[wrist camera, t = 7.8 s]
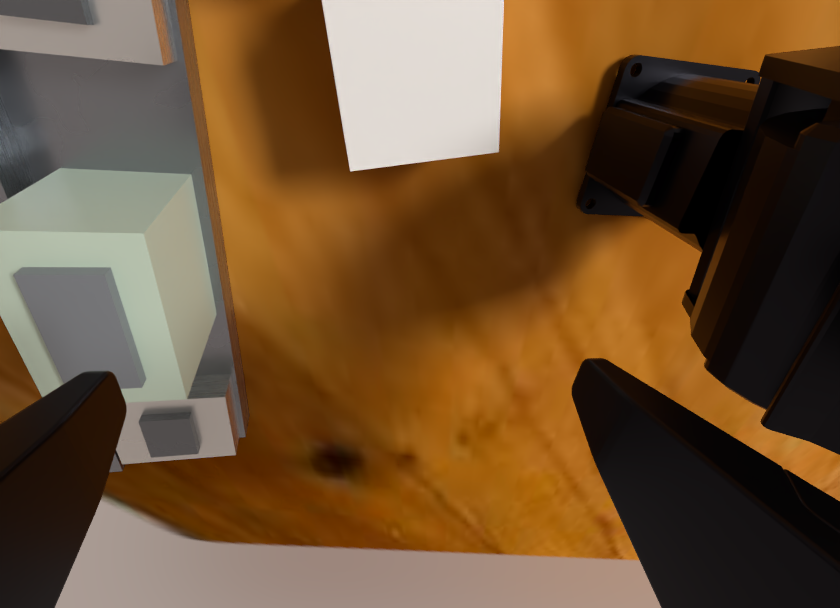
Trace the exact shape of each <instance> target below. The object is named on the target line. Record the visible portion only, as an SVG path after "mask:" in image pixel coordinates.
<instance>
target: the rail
mask: <svg viewBox="0 0 840 608" xmlns="http://www.w3.org/2000/svg"><path fill="white" fill-rule="evenodd" d="M59 168H68V169H89V170H110V171H132V172H153V173H174V174H191V175H192V181H193V186H194V192H195V198H196V203H197V209H198V214H199V220H200V225H201V231H202V236H203V242H204V247H205V253H206V258H207V264H208V269H209V275H210V280H211V286H212V291H213V297H214V302H215V308H216V313H217V314H216V317H215V320H214V323H213V326H212V329H211V332H210V334H209V337H208V340H207V343H206V346H205V349H204V352H203V355H202V357H201V360H200V363H199V366H198V369H197V372H196V375H195V378H194V381H193V383H192V386H191V389H190V392H189V395H188V398H187V399H185V400H167V401H150V402H132V403H126V407H127V412H126V418H125V421H124V425H123V428H122V431H121V435H120V438H119V441H118V445H117V448H116V451H115V455H114V458H113V461H112V465H111V468H110V471H109V472H118V471H123V469H124V466H125V464H132V463H144V462H156V461H169V460H181V459H193V458H205V457H218V456H230V455H236V452H237V447H238V442H239V438H240V437H246V432H247V427H248V421H249V409H248V402H247V395H246V389H245V382H244V375H243V368H242V362H241V355H240V348H239V341H238V335H237V328H236V321H235V314H234V308H233V301H232V294H231V287H230V281H229V274H228V267H227V261H226V254H225V247H224V240H223V234H222V227H221V220H220V213H219V207H218V200H217V193H216V186H215V180H214V173H213V166H212V159H211V153H210V146H209V139H208V132H207V126H206V119H205V112H204V105H203V99H202V92H201V85H200V78H199V72H198V65H197V58H196V52H195V45H194V38H193V31H192V25H191V18H190V11H189V4H188V0H0V204H1V203H2V202H4V201H6V200H7V199H9V198H11V197H12V196H14V195H16V194H17V193H19V192H21V191H22V190H24V189H26V188H27V187H29V186H31V185H33V184H34V183H36V182H38V181H39V180H41V179H43V178H44V177H46V176H48V175H49V174H51V173H53V172H54V171H56V170H58V169H59Z"/></svg>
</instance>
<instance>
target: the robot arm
mask: <svg viewBox="0 0 840 608" xmlns="http://www.w3.org/2000/svg"><path fill="white" fill-rule="evenodd" d="M635 63H636V70H635V72H634V73H633V74H632V75H631V74H630V70H631V68H632V66H633V65H634V64H635ZM760 77H762V78H761V81H760ZM746 80H747V83H745V81H746ZM759 82H760V84H759ZM585 170H586V173H585V176H584V179H583V183H582V186H581V189H580V192H579V195H578V198H577V203H576V205H577V208H578V209H579V210H580V211H582V212H583V213H585V214H599V215H624V216H645V217H646V218H648V219H649V220H651V221H653V222H654V223H656V224H657V225H659V226H661V227H662V228H664V229H665V230H667V231H668V232H670V233H672V234H673V235H675V236H676V237H678V238H680V239H681V240H683V241H684V242H686V243H688V244H689V245H691V246H692V247H694V248H696V249H697V250H699V251H700V252H702V254H701V257H700V260H699V263H698V266H697V269H696V271H695V274H694V277H693V280H692V283H691V286H690V289H689V290H686V292H685V294H684V297H683V300H682V305H683V306H684V308H685V310H686V312H687V313H688V315H689V317H690V325H691V336H692V338H693V339H694V341H695V343H696V344H697V346H698V347H699V349H700V351H701V352H702V354H703V355H704V357H705V358H706V360H705V363H704V367H705V368H706V370H707V371H708V372H709V373H711V374H712V375H713V376H714V377H715V378H716V379H718V380H719V381H720V382H721V383H722V384H724V385H725V386H726V387H727V388H728V389H730V390H732V391H733V392H735V393H736V394H738V395H740V396H741V397H743V398H744V399H746V400H748V401H749V402H751V403H753V404H755V405H757V406H759V407H761V408H763V409H766V412H765V414H764V415H763V417H762V419H761V424H762V425H763V426H764V427H766V428H767V429H769V430H772V431H776V432H779V433H783V434H786V435H789V436H793V437H796V438H799V439H803V440H806V441H809V442H812V443H814V444H816V445H819V446H821V447H823V448H826V449H828V450H830V451H832V452H835V453H837V454H839V455H840V46H835V47H826V48H818V49H809V50H800V51H791V52H783V53H774V54H766V55H765V57H764V60H763V63H762V66H761V69H760V72H757V71H753V70H746V69H739V68H731V67H724V66H716V65H709V64H701V63H694V62H687V61H679V60H672V59H664V58H657V57H650V56H642V55H630V56H628V57H626V58H625V59H624V61H623V62H622V63H621V65H620V67H619V70H618V74H617V77H616V80H615V83H614V86H613V89H612V92H611V95H610V99H609V102H608V105H607V108H606V110H605V111H604V112H603V115H602V118H601V121H600V124H599V128H598V131H597V134H596V137H595V140H594V143H593V146H592V149H591V153H590V156H589V159H588V162H587V165H586V168H585ZM589 199H591V202H590V204H588V205H587V206H585V205H586V202H587V201H588V200H589ZM572 397H573V401H574V404H575V407H576V409H577V412H578V415H579V418H580V421H581V424H582V427H583V430H584V433H585V436H586V439H587V442H588V445H589V447H590V450H591V453H592V456H593V458H594V461H595V463H596V466H597V468H598V470H599V473H600V475H601V477H602V479H603V481H604V484H605V486H606V488H607V490H608V492H609V495H610V497H611V499H612V501H613V503H614V505H615V508H616V510H617V512H618V514H619V516H620V518H621V521H622V523H623V525H624V527H625V529H626V532H627V534H628V536H629V538H630V540H631V542H632V545H633V547H634V549H635V551H636V553H637V555H638V558H639V560H640V562H641V564H642V566H643V569H644V571H645V573H646V575H647V577H648V579H649V582H650V584H651V586H652V588H653V590H654V592H655V594H656V597H657V599H658V601H659V603H660V606H661V608H840V501H838V500H836V499H835V498H833V497H831V496H830V495H828V494H826V493H825V492H823V491H821V490H820V489H818V488H816V487H814V486H813V485H811V484H809V483H808V482H806V481H805V480H803V479H801V478H800V477H798V476H796V475H795V474H793V473H792V472H790V471H788V470H786V469H784V470H783V468H782V467H781V466H780V465H778V464H777V463H775V462H773V461H772V460H770V459H768V458H767V457H765V456H763V455H762V454H760V453H759V452H757V451H755V450H754V449H752V448H750V447H749V446H747V445H745V444H744V443H742V442H741V441H739V440H737V439H736V438H734V437H732V436H731V435H729V434H727V433H726V432H724V431H722V430H721V429H719V428H718V427H716V426H714V425H713V424H711V423H709V422H708V421H706V420H704V419H703V418H701V417H699V416H698V415H696V414H695V413H693V412H691V411H690V410H688V409H686V408H685V407H683V406H681V405H680V404H678V403H676V402H675V401H673V400H672V399H670V398H668V397H667V396H665V395H663V394H662V393H660V392H658V391H657V390H655V389H654V388H652V387H650V386H649V385H647V384H645V383H644V382H642V381H640V380H639V379H637V378H636V377H634V376H632V375H631V374H629V373H627V372H626V371H624V370H622V369H621V368H619V367H617V366H616V365H614V364H613V363H611V362H609V361H608V360H606V359H603V358H589V359H585V360H584V361H583V362H582V364H581V366H580V368H579V371H578V373H577V376H576V378H575V380H574V383H573V386H572ZM126 412H127V407H126V402H125V399H124V397H123V394H122V391H121V389H120V386H119V383H118V381H117V378H116V376H115V374H114V373H113V372H111V371H86V372H82V373H81V374H79V375H77V376H75V377H74V378H72V379H71V380H69V381H68V382H66V383H64V384H63V385H61V386H60V387H58V388H56V389H55V390H53V391H52V392H50V393H49V394H47V395H45V396H44V397H42V398H41V399H39V400H38V401H36V402H34V403H33V404H31V405H30V406H28V407H26V408H25V409H23V410H22V411H20V412H19V413H17V414H15V415H14V416H12V417H11V418H9V419H8V420H6V421H4V422H3V423H1V424H0V608H55V605H56V603H57V601H58V598H59V596H60V594H61V592H62V589H63V587H64V584H65V582H66V580H67V577H68V575H69V573H70V571H71V568H72V566H73V563H74V561H75V559H76V557H77V554H78V552H79V550H80V547H81V545H82V542H83V540H84V538H85V536H86V533H87V531H88V528H89V526H90V524H91V522H92V519H93V517H94V515H95V512H96V510H97V507H98V505H99V502H100V500H101V497H102V494H103V491H104V488H105V485H106V481H107V478H108V475H109V471H110V468H111V465H112V461H113V458H114V455H115V451H116V448H117V445H118V441H119V438H120V435H121V431H122V428H123V425H124V421H125V418H126Z"/></svg>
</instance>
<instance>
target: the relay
mask: <svg viewBox="0 0 840 608" xmlns="http://www.w3.org/2000/svg"><path fill="white" fill-rule="evenodd" d="M321 1H322V7H323V13H324V19H325V25H326V31H327V37H328V43H329V49H330V55H331V61H332V67H333V73H334V79H335V85H336V91H337V97H338V103H339V109H340V115H341V121H342V127H343V133H344V139H345V145H346V151H347V156H348V162H349V167H350V171H358V170H365V169H373V168H381V167H389V166H396V165H404V164H412V163H419V162H427V161H435V160H442V159H450V158H458V157H466V156H473V155H481V154H489V153H496V152H499V131H500V101H501V71H502V42H503V12H504V0H321Z"/></svg>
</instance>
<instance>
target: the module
mask: <svg viewBox="0 0 840 608" xmlns="http://www.w3.org/2000/svg"><path fill="white" fill-rule="evenodd" d="M216 314H217V313H216V308H215V302H214V297H213V291H212V286H211V280H210V275H209V269H208V264H207V258H206V253H205V247H204V242H203V236H202V231H201V225H200V220H199V214H198V209H197V203H196V198H195V192H194V186H193V181H192V175H191V174H174V173H153V172H132V171H110V170H89V169H68V168H59V169H58V170H56V171H54V172H53V173H51V174H49V175H48V176H46V177H44V178H43V179H41V180H39V181H38V182H36V183H34V184H33V185H31V186H29V187H27V188H26V189H24V190H22V191H21V192H19V193H17V194H16V195H14V196H12V197H11V198H9V199H7V200H6V201H4V202H2V203H1V204H0V316H1V318H2V320H3V322H4V324H5V326H6V328H7V330H8V332H9V334H10V335H11V337H12V339H13V341H14V343H15V345H16V347H17V349H18V351H19V353H20V355H21V357H22V359H23V361H24V363H25V365H26V367H27V368H28V370H29V372H30V374H31V376H32V378H33V380H34V382H35V384H36V386H37V388H38V390H39V392H40V394H41V396H42V397H44V396H45V395H47V394H49V393H50V392H52V391H53V390H55V389H56V388H58V387H60V386H61V385H63V384H64V383H66V382H68V381H69V380H71V379H72V378H74V377H75V376H77V375H79V374H81V373H82V372H86V371H111V372H113V373H114V374H115V376H116V378H117V381H118V383H119V386H120V389H121V391H122V394H123V397H124V399H125V402H126V403H132V402H150V401H167V400H185V399H187V398H188V395H189V392H190V389H191V386H192V383H193V381H194V378H195V375H196V372H197V369H198V366H199V363H200V360H201V357H202V355H203V352H204V349H205V346H206V343H207V340H208V337H209V334H210V332H211V329H212V326H213V323H214V320H215V317H216Z"/></svg>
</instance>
